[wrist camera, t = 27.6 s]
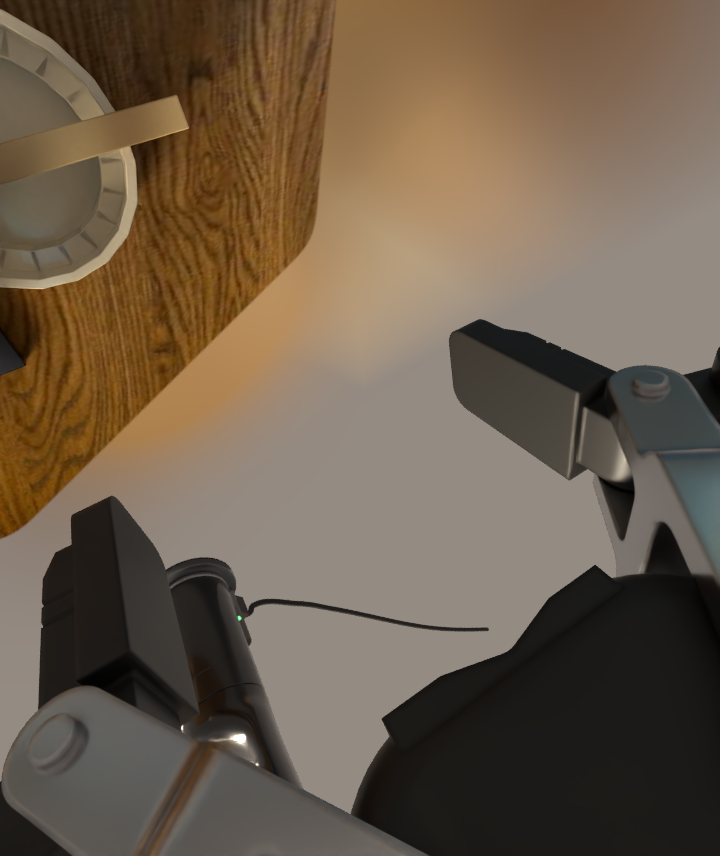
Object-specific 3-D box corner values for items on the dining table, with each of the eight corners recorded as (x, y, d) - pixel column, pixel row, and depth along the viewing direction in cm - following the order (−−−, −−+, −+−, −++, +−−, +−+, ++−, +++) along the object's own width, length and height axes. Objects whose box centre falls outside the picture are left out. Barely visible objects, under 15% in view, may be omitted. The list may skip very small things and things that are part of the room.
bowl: (169, 158, 40) (182, 162, 36) (56, 309, 41) (55, 331, 37) (-63, -59, 29) (-85, -92, 25) (-207, 156, 30) (-252, 161, 26)
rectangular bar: (171, 95, 33) (177, 94, 32) (184, 128, 35) (189, 128, 33) (-226, 205, 27) (-243, 210, 26) (-194, 240, 28) (-208, 246, 27)
